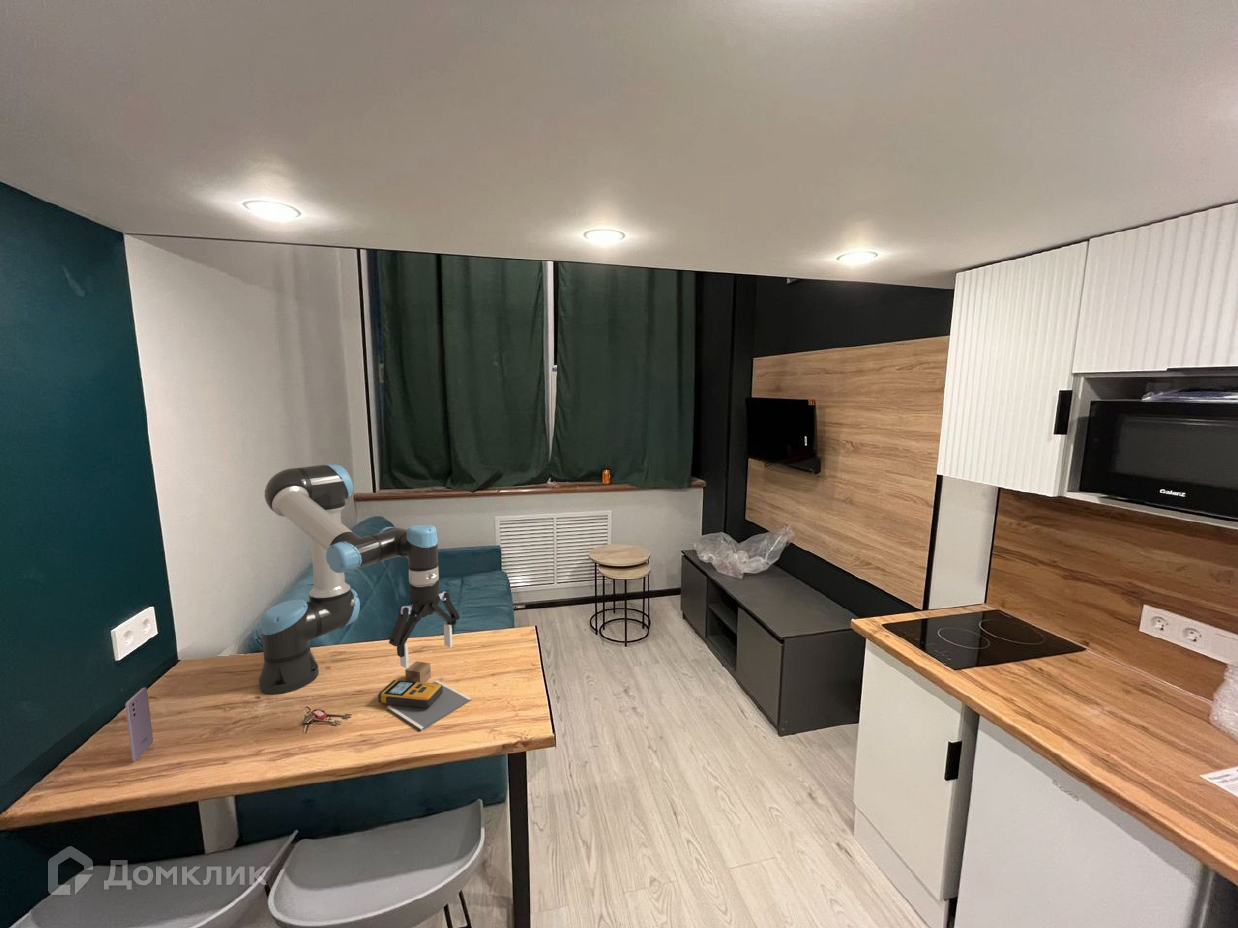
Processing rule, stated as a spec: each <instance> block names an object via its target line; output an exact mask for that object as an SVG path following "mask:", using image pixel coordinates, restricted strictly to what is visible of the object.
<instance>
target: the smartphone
mask: <svg viewBox="0 0 1238 928" xmlns="http://www.w3.org/2000/svg"><path fill="white" fill-rule="evenodd" d="M124 706H125V714H126V722H127V729H128V731H127V732H128V739H129V747H130V753H131V760H132V761H133V762H136V761H138V760H139V759H140V758H141V757H142V755H143V754H144V753H145V752H146V751H147V750H148V749H149V748H150V747H151V746H152V744H153V743H154V736H153V728H152V727H153V726H152V720H151V711H150V703H149V695H148V688H147V686H146V687H142V688H140V689H139V691H137V692H136V693H135V694H134V695H133V696H132V697H130V698H129V700H127V701H126V702H125V704H124Z"/></svg>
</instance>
